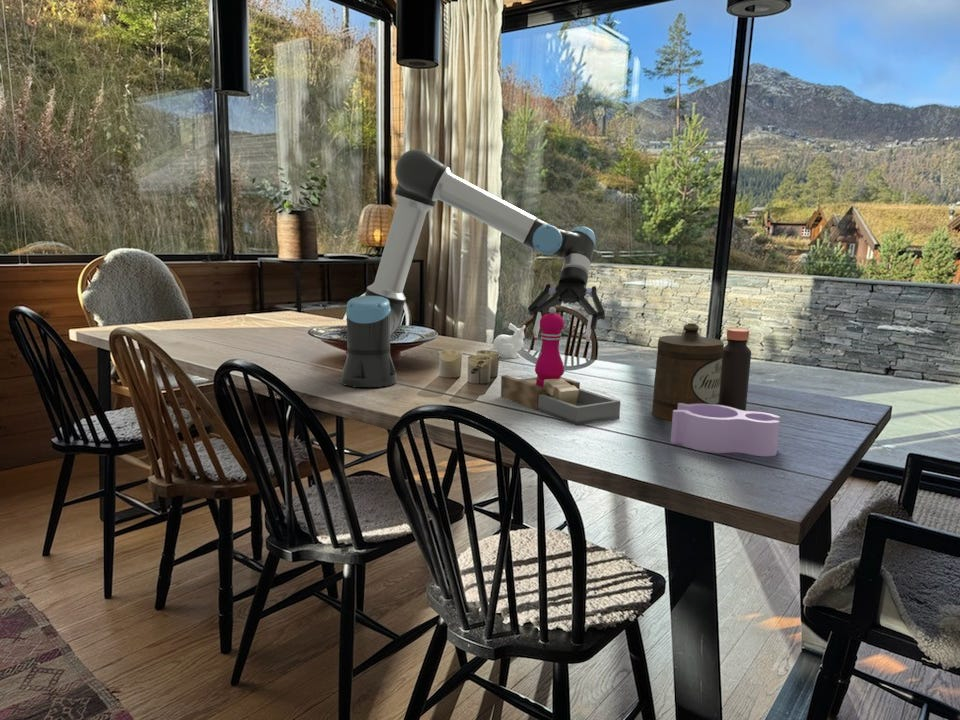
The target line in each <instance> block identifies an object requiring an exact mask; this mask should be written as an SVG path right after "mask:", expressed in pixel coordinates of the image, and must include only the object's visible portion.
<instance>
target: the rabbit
mask: <svg viewBox="0 0 960 720" xmlns="http://www.w3.org/2000/svg"><path fill="white" fill-rule="evenodd" d="M508 329H509V330H511V331H513V335H512V334H511V335H508V334H499V335H497V336H496V337H495V339H494V340H493V342H492V343H493V344H492V347H491V348H490V349H489V351H490V350H497V351H498V352H499V355H500V357H499V358H501V359H515V358H520V357H521V356H520V354H519V353H518V351H520V350H522V348H523V346H524V339H525V329H526V325H525V324H524V325H522V326H521V327H520V328H518V327H517V326H515V324H513V323H511V322H510V323H509V324H508Z"/></svg>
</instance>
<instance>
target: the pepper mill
mask: <svg viewBox="0 0 960 720" xmlns="http://www.w3.org/2000/svg"><path fill="white" fill-rule="evenodd" d="M541 316H542V318H541V319H540V330H541V333H540V335H541V336H540V338H541V339H542V349H541V352H540V355H539V356H538V358H537V360H536V362H535V368H534V372H535V374H536V376H537V375H538V377H539V378H537V380H536V385H537V386H540V387H543V385H544V379H559V378H560V377H562V376H563V375H564V373H565V365H564V362H563V359H562V357H561V355H560V351H559V350H560V345H559V344H560V340H562V333H561V331H562V330H564V326H565V319H563V317H562V316H561V315H560V314H558V313H557V309H556V307H555V306H554V307H550V308H549V310H548V313H544V314H543V315H541Z"/></svg>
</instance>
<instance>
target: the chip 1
mask: <svg viewBox="0 0 960 720" xmlns="http://www.w3.org/2000/svg"><path fill="white" fill-rule="evenodd" d="M569 385H570V384H569V383H568V382H566V381H565V380H563V379H544V385H543V390H545V391H546V392H547V393H548V394H550V395H551V396H552V397H554V393H555V388H556V387H558V386H569Z"/></svg>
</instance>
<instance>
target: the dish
mask: <svg viewBox="0 0 960 720" xmlns="http://www.w3.org/2000/svg"><path fill="white" fill-rule="evenodd" d="M537 411H538V412H540V413H543V414H545V415H548V416H551V417H553V418H556V419H559V420H560V421H563V422H566V423H569V424H572V425H574V426H582V425H586V424H593V423H597V422H603V421H610V420H616V419H620V414H621V401H620V400H618V399H615V398H612V397H609V396H606V395H602V394H599V393H596V392H592V391H589V390H585V389H583V388H580V389H579V393H578V397H577V402H576V405H573V404H570V403H567V402H564V401H561V400H559V399H556V398H553V397H550V396H547V395H544V394H539V398H538V410H537Z"/></svg>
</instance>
